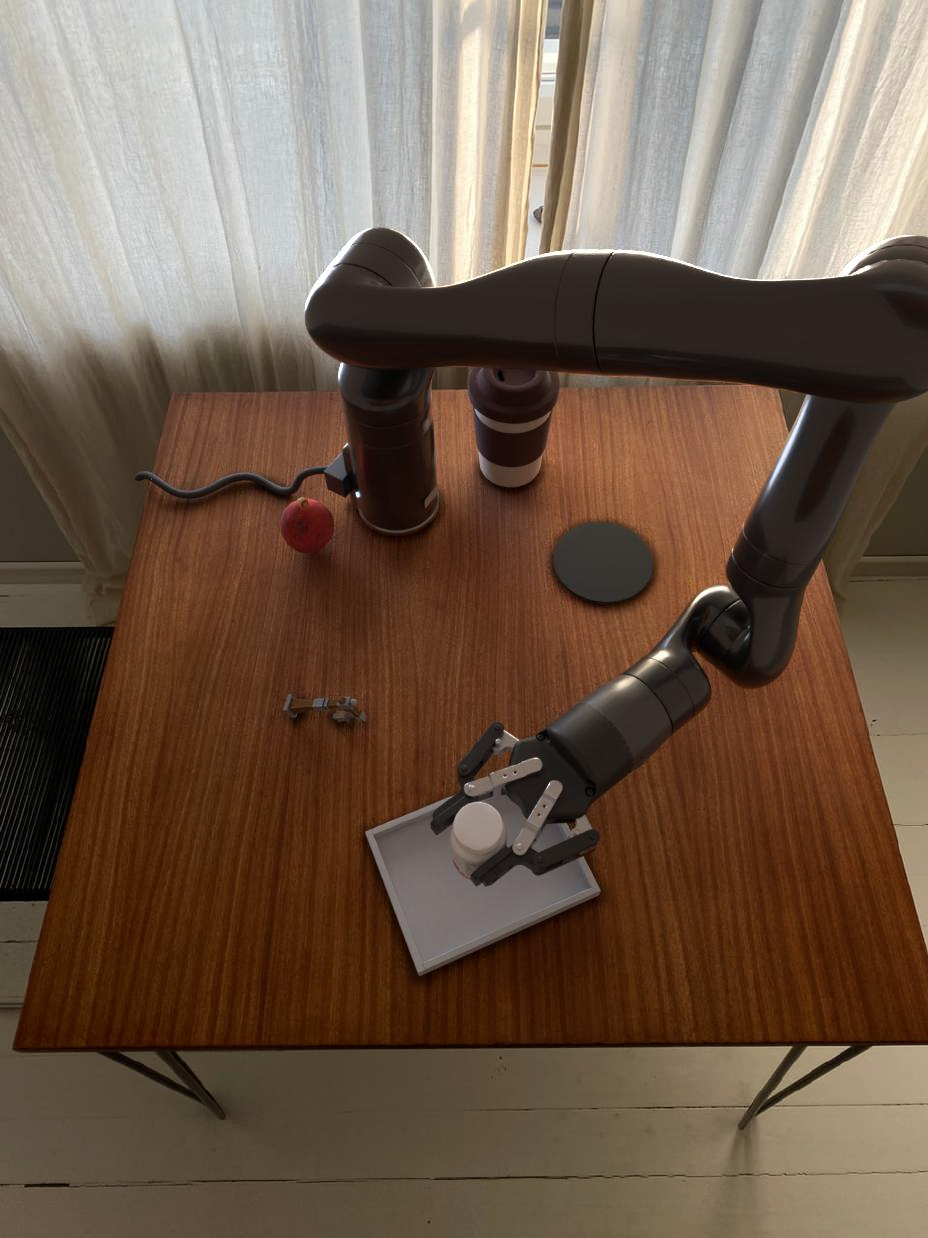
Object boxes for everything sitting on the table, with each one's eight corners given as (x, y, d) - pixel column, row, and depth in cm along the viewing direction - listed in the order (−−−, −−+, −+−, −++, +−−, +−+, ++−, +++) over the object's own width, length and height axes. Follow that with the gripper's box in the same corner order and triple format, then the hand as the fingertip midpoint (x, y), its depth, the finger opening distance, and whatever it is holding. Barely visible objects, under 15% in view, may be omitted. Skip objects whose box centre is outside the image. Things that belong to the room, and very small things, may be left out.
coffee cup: (563, 450, 106) (575, 352, 93) (532, 508, 101) (540, 413, 88) (489, 426, 108) (490, 327, 96) (455, 482, 103) (452, 385, 91)
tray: (419, 976, 74) (418, 973, 73) (366, 837, 81) (364, 831, 79) (598, 895, 77) (601, 890, 76) (534, 767, 84) (535, 761, 83)
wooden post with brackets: (372, 728, 85) (349, 706, 82) (306, 729, 89) (281, 708, 86) (377, 712, 86) (354, 689, 83) (311, 714, 90) (287, 692, 87)
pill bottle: (449, 832, 78) (446, 799, 71) (502, 827, 78) (504, 794, 71) (453, 885, 76) (451, 856, 69) (508, 880, 76) (511, 851, 69)
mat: (535, 576, 96) (535, 574, 96) (581, 509, 101) (582, 507, 101) (625, 620, 93) (625, 618, 92) (668, 549, 98) (669, 547, 97)
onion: (330, 570, 97) (318, 526, 90) (280, 562, 97) (265, 517, 91) (344, 530, 100) (334, 483, 93) (296, 522, 100) (282, 476, 94)
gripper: (555, 658, 76) (397, 772, 71) (672, 780, 70) (510, 915, 65) (549, 697, 83) (404, 804, 77) (656, 811, 77) (507, 936, 71)
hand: (453, 854), depth 71 cm, fingers closed on pill bottle, 4 cm apart
